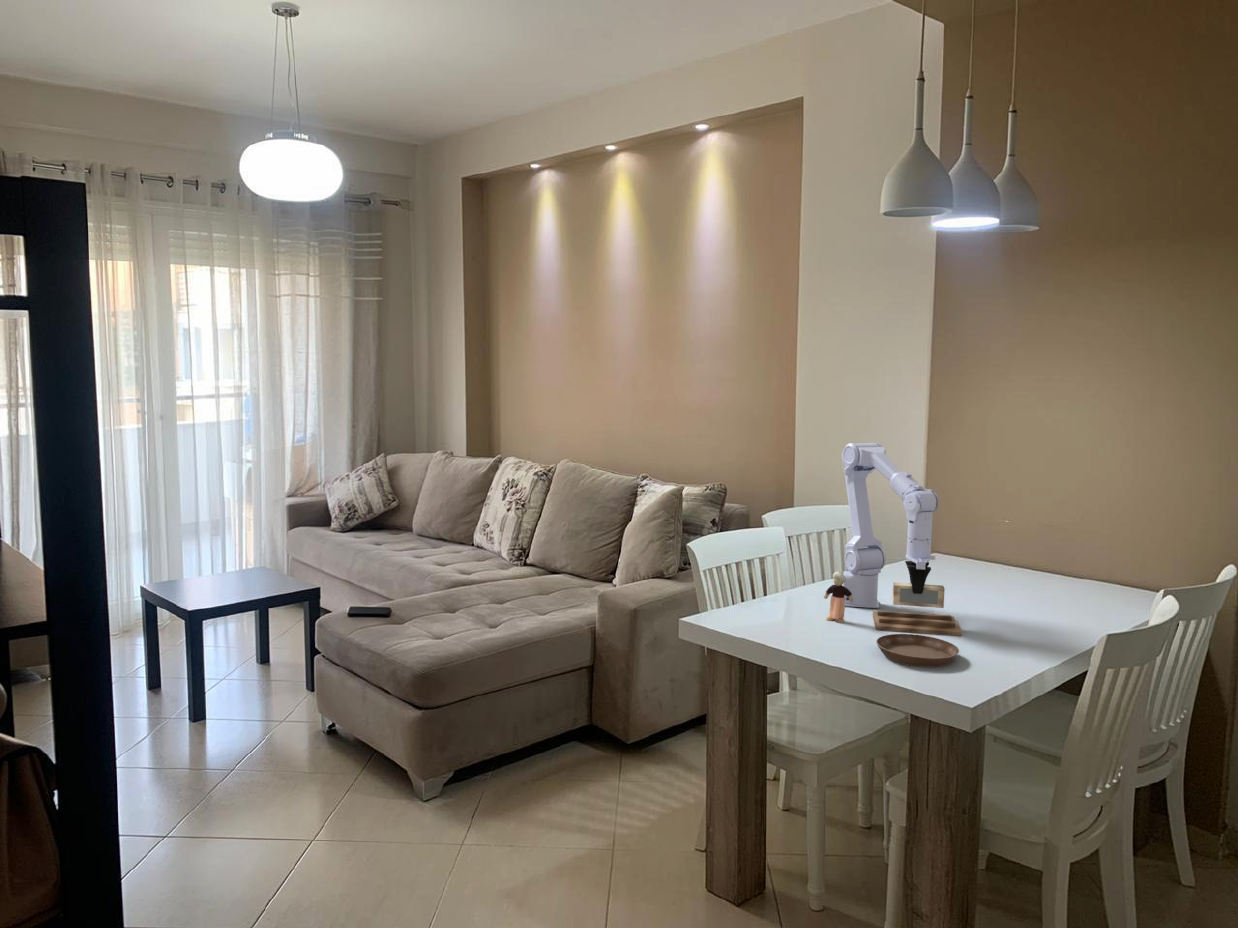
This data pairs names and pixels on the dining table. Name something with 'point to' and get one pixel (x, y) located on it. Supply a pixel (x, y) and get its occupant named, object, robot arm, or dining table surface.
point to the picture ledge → (916, 623)
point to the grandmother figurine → (838, 598)
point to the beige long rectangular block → (918, 595)
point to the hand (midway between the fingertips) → (916, 591)
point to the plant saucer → (917, 650)
